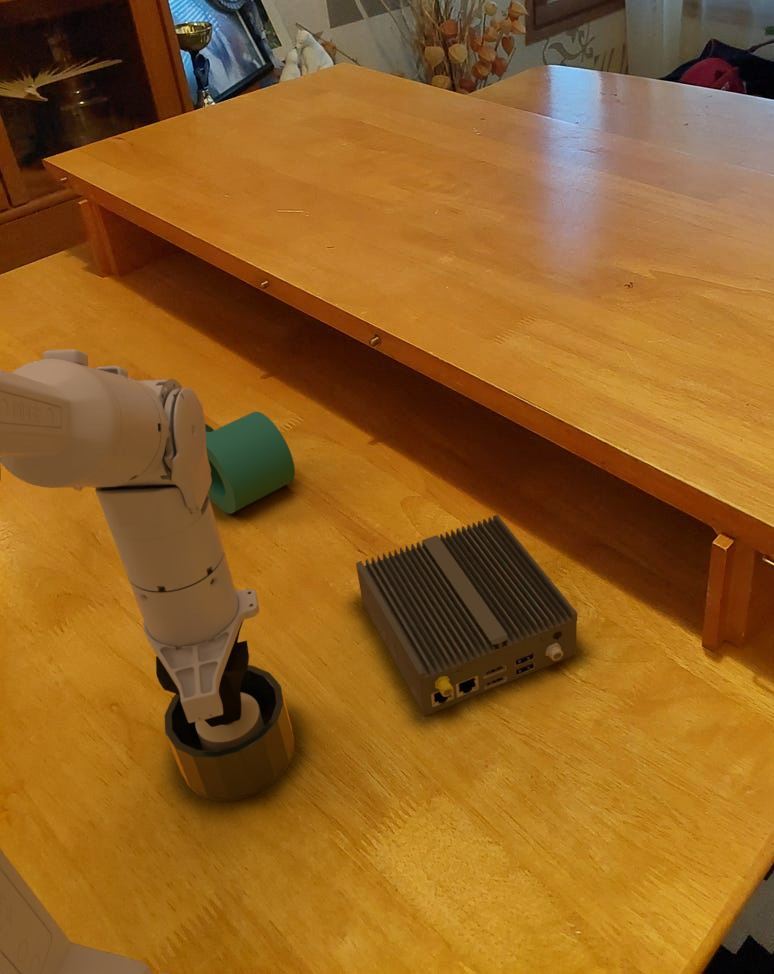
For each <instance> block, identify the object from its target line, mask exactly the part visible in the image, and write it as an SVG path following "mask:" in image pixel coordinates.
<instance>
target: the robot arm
mask: <svg viewBox="0 0 774 974" xmlns="http://www.w3.org/2000/svg"><path fill="white" fill-rule="evenodd" d="M205 423H206V420H205V413H204V408H203V404H202V401H200V400H199V398H198V396H197V394H196V392H195V391H194V390H193V389H192V388H190V387H183V385H181V383H180V382H179V381H178V380H177V379H174V378H165V379H160V378H159V379H140V380H137V379H135V378H132V377H129V373H128V370H127V369H126V368H125V367H122V366H120V365H106V366H105V365H103V366H96V368H95V367H92V366H89V355H88V354H87V352H85V351H82V350H78V349H75V348H71V349H70V348H69V349H49V350H48V349H47V350H45V351H44V352H43V353H42V359H38V360H33V361H31V362H27V363H25V364H23V365H21V366H19V367H17V368H16V369H14V370H13V371H12V372H10V371H7V370H3V369H1V368H0V464H1V466H3V468H5V469H6V470H7V471H8V472H9V473H10V474H11V475H12V476H14V477H15V478H17V479H19V480H20V481H22V482H24V483H27V484H29V485H32V486H36V487H40V488H47V489H61V488H73V489H74V490H76V491H78V492H82V490H83V489H84V488H92V489H95V494H96V497H97V499H98V502H99V504H100V507H101V509H102V513H103V515H104V518H105V521H106V523H107V527H108V528H109V531H110V533H111V536H112V539H113V542H114V544H115V547H116V549H117V552H118V555H119V558H120V561H121V563H122V566H123V568H124V571H125V574H126V577H127V580H128V582H129V584H130V587H131V590H132V593H133V596H134V599H135V601H136V603H137V606H138V609H139V613H140V615H141V617H142V619H143V620H142V628H143V633H144V635H145V637H146V640H147V641H148V644H149V645H150V646H151V647H150V648H152V650H153V652H154V653H155V654H156V656H155V673H156V678H157V681H158V682H159V684H160V686H161V688H162V689H163V690H164V691H166V692H169V693H172V694H174V695H175V694H177V695H179V696H180V699H181V704H182V706H183V709H184V712H185V715H186V717H187V720H188V723H192V722H196V721H201V720H205V721H206V722H207V723H208V724H209V725H210V726H211V727H215V726H219V725H222V724H226V723H230V722H234V721H238V720H239V719H240V718H241V691H240V688H241V681H242V678H243V676H244V674H245V672H246V670H247V668H248V665H249V662H250V653H249V646H248V640H242V641H239V637H240V632H241V629H242V626H243V623H244V621H245V620H246V619H252V618H254V617H256V616H257V615H258V614H259V613H260V605H259V599H258V595H257V592H256V590H255V589H253V588H246V589H242V590H240V589H239V590H238V589H236V587H235V584H234V580H233V576H232V573H231V570H230V566H229V563H228V558H227V555H226V552H225V548H224V545H223V542H222V537H221V535H220V531H219V527H218V524H217V520H216V517H215V513H214V510H213V505H212V501H211V500H210V499H209V495H208V491H209V488H210V485H211V482H212V479H211V468H210V465H209V461H208V457H207V450H206V428H205ZM1 480H2V473H1V467H0V481H1ZM238 641H239V642H238ZM0 974H154V972H153V971H152V970H151V968H150V966H149V965H148V964H147V963H146V962H144V961H142V960H139V959H135V958H131V957H128V956H125V955H120V954H116V953H113V952H109V951H104V950H101V949H98V948H97V949H96V948H92V947H88V946H85V945H81V944H78V943H75V942H73V941H71V940H70V939H69V937H68V936H67V934H66V933H65V932H64V931H63V929H62V928H61V926H60V925H59V924H58V923H57V921H56V920H55V919H54V918H53V916H52V915H51V914H50V913H49V911H48V910H47V908H46V907H45V905H44V904H43V903H42V901H41V900H40V899H39V898H38V896H37V895H36V894H35V893H34V891H33V890H32V889H31V887H30V886H29V884H28V883H27V882H26V880H24V878H23V877H22V876H21V874H20V872H19V871H18V870H17V869H16V867H15V865H13V863H12V862H11V861H10V859H9V858H8V857H7V855H5V853H4V852H3V850H2V849H1V848H0ZM160 974H170V972H162V973H161V972H160Z"/></svg>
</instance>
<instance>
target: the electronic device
mask: <svg viewBox="0 0 774 974" xmlns="http://www.w3.org/2000/svg"><path fill="white" fill-rule="evenodd" d="M455 529H456V530H455V531H454V530H453V529H451V530H450V534H449V533H448V531H445V536H444V535H443V533H440V534H439V535H438V534H437V535H433V536H430V537H428V538H425V539H422V540H421V541H422V542H421V543H420V542H419V541H417V542H416V546H415V545H414V543H411V544H410V548H409V546H408V545H405V551H404V550H403V548H402V547H401V546H400V547H399V553H398V551H397V550H396V549H394V550H393V552H394V553H393V554H392V553H391V551H388V556H387V555H386V554H385V553H384V552H383V553H382V559H381V558H380V556H379V555H377V556H376V559H377V560H376V559H375V558H374V556H371V557H370V559H371V563H370V561H369V559H368V558H366V559H365V565H364V563H363V561H362V560H360V561H358V562H355V566H356V572H357V579H358V584H359V590H360V595H361V602H362V605H363V607H364V609H365V611H366V614H368V617H369V618H370V620H371V622H372V624H373V625H374V628H375V629H376V631H377V633H378V635H379V636H380V638H381V640H382V642H383V644H384V645H385V648H386V649H387V651H388V653H389V655H390V657H391V659H392V660H393V662H394V664H395V666H396V667H397V669H398V671H399V673H400V674H401V676H402V679H403V680H404V682H405V683H406V686H407V688H408V689H409V691H410V692H411V693H410V694H412V696H413V698H414V700H415V702H416V704H417V705H418V707H419V710H420V711H421V713H422V714H423V716H424V717H427V716H430V715H432V714H434V713H437V712H439V711H442V710H444V709H447V708H449V707H452V706H454V705H457V704H459V703H461V702H464V701H467V700H469V699H471V698H474V697H476V696H479V695H481V694H483V693H486V692H488V691H491V690H494V689H496V688H498V687H501V686H503V685H506V684H509V683H511V682H513V681H516V680H518V679H521V678H524V677H525V676H528V675H531V674H533V673H536V672H538V671H540V670H543V669H546V668H548V667H550V666H553V665H555V664H558V663H560V662H563V661H565V660H568V659H571V658H572V657H575V656H576V655H577V628H578V627H577V623H578V612H577V611H576V609H575V608H574V607H573V606H572V604H571V603H570V602H569V601H568V600H567V598H566V597H565V596H564V594H563V593H562V592H561V591H560V589H558V587H557V586H556V585H555V584H554V582H553V581H552V580H551V578H550V577H549V576H548V575H547V573H546V572H545V571H544V570H543V569H542V567H541V566H540V565H539V563H537V562H536V560H535V559H534V558H533V557H532V555H531V553H529V551H528V550H527V549H526V548H525V547H524V545H523V544H522V543H521V542H520V541H519V538H517V537H516V535H515V534H514V533H513V532H512V531H511V530H510V528H509V527H508V526H507V525H506V523H505V522H504V521H503V519H502V518H501V517H500V516H499V514H495V515H493V516H492V518H491V517H488V518H487V519H485V518H483V519H482V521H481V520H478V521H477V524H476V523H475V522H472V525H470V524H467V525H466V527H465V525H463V526H461V530H460V528H459V527H457V528H455Z"/></svg>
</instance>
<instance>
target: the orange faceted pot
mask: <svg viewBox="0 0 774 974" xmlns="http://www.w3.org/2000/svg"><path fill="white" fill-rule="evenodd" d="M240 691H241V692H242V693H246V694H248V695H250V696H252V697H253V698H254V699H255V700H256V701H257V703H258V705H259V708H260V712H261V715H262V719H263V722H264V726H265V727H264V728H263V729H262V730H261V731H260V732H259V733H258V734H257V735H256V736H254V737H253V738H251V739H249V740H248V741H246V742H244V743H243V744H241V745H239V746H236V747H232V748H228V749H225V750H221V751H204V749H203V747H202V744H201V741H200V738H199V736H198V733H197V730H196V726H195V722H192V723H188V720H187V717H186V715H185V712H184V709H183V706H182V704H181V699H180V696H179V695H177V694H175V693H174V695H173V697H172V698H171V700H170V703H169V705H168V707H167V709H166V711H165V713H164V734H165V736H166V739H167V741H168V744H169V746H170V750H171V752H172V754H173V756H174V759H175V761H176V765H177V767H178V769H179V772H180V774H181V776H182V777H183V779H184V781H185V783H186V785H187V786H188V788H189V789H190V790H191V791H193V793H195V794H196V795H197V796H199V797H201V798H204V799H206V800H209V801H213V802H219V803H220V802H221V803H225V802H227V803H228V802H229V803H230V802H237V801H242V800H245V799H249V798H252V797H254V796H256V795H258V794H261V793H262V792H263V791H265V790H267V789H268V788H270V787H271V786H273V784H275V783H276V782H278V780H279V779H280V778H281V777H282V776H283V774H285V772H286V771H287V769H288V767H289V766H290V764H291V762H292V760H293V758H294V753H295V745H296V744H295V743H296V742H295V737H294V732H293V727H292V723H291V719H290V715H289V711H288V708H287V703H286V700H285V696H284V692H283V689H282V685H281V684H280V683H279V682H278V681H277V679H276V678H275V677H274V676H273V675H272V674H271V673H270V672H269V671H266V670H265V669H262V668H259V667H257V666H254V665H249V664H248V668H247V670H246V672H245V674H244V676H243V678H242V681H241V688H240Z"/></svg>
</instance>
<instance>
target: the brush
mask: <svg viewBox="0 0 774 974" xmlns="http://www.w3.org/2000/svg"><path fill="white" fill-rule="evenodd" d="M195 726H196V730H197V733H198V736H199V738H200V741H201V744H202V747H203V749H204V751H221V750H225V749H228V748H232V747H236V746H239V745H241V744H243V743H244V742H246V741H248V740H249V739H251V738H253V737H254V736H256V735H257V734H258V733H259V732H260V731H261V730H262V729H263V728H264V727H265V726H264V722H263V719H262V715H261V712H260V708H259V705H258V703H257V701H256V700H255V699H254V698H253V697H252V696H250V695H248V694H246V693H242V692H241V718H240V719H239V720H238V721H234V722H230V723H226V724H222V725H219V726H215V727H211V726H210V725H209V724H208V723H207V722H206V721H205V720H201V721H196V722H195Z"/></svg>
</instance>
